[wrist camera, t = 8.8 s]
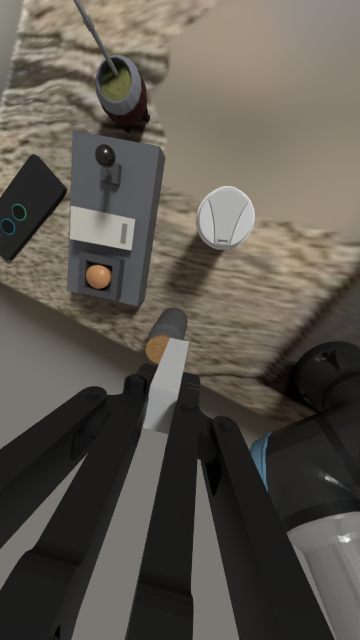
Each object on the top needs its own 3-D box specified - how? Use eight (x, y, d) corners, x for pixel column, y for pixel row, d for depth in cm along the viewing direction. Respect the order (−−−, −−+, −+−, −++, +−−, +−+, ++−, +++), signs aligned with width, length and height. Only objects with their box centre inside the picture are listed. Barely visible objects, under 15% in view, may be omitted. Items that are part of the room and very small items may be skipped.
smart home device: (-25, 230, 47) (31, 151, 42) (-17, 230, 49) (38, 154, 43) (6, 262, 49) (65, 189, 43) (13, 261, 50) (70, 191, 45)
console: (165, 157, 41) (156, 139, 34) (144, 300, 49) (133, 309, 42) (88, 143, 41) (63, 122, 34) (80, 286, 50) (59, 293, 43)
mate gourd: (144, 143, 40) (110, 89, 26) (102, 124, 40) (45, 59, 26) (160, 92, 38) (131, 2, 24) (115, 71, 38) (60, -32, 24)
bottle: (163, 334, 51) (145, 369, 37) (158, 308, 49) (138, 335, 35) (189, 332, 50) (182, 366, 36) (185, 305, 48) (176, 331, 34)
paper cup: (237, 250, 44) (250, 252, 31) (197, 246, 45) (192, 247, 31) (245, 204, 41) (262, 185, 28) (201, 201, 42) (199, 181, 29)
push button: (114, 266, 42) (109, 268, 40) (112, 288, 43) (107, 290, 41) (93, 262, 42) (86, 263, 40) (91, 283, 44) (85, 286, 41)
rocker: (135, 219, 39) (135, 219, 38) (132, 250, 41) (131, 250, 40) (73, 206, 38) (70, 205, 36) (72, 238, 39) (69, 238, 38)
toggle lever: (117, 164, 36) (116, 144, 27) (116, 181, 37) (114, 168, 28) (101, 159, 35) (94, 138, 27) (99, 177, 36) (93, 162, 27)
